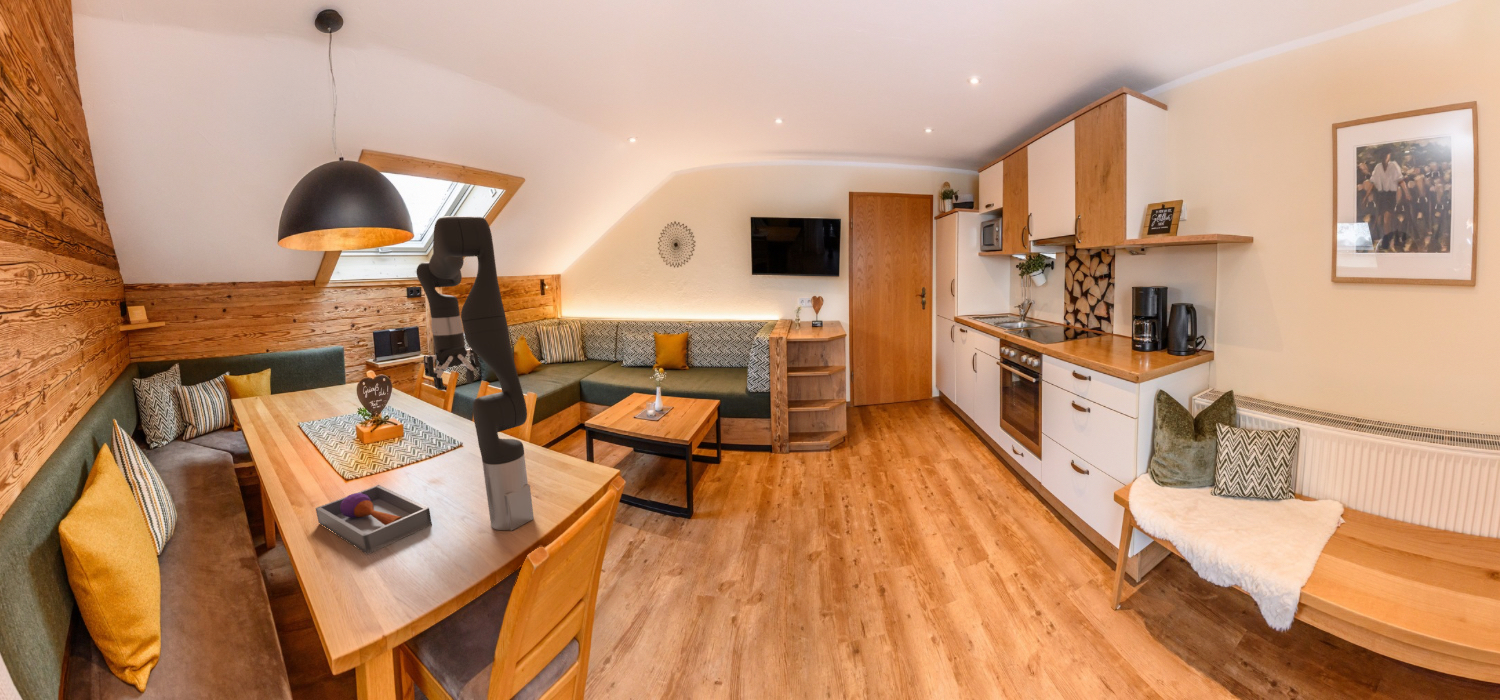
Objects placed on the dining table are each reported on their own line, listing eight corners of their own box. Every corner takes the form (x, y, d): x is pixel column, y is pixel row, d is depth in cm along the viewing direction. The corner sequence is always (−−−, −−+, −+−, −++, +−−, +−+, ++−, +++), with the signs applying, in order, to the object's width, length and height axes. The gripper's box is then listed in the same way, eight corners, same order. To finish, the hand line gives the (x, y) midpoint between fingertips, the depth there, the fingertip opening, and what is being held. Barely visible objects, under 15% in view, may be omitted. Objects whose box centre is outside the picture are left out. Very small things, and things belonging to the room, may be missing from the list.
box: (431, 524, 118) (429, 508, 117) (367, 554, 106) (363, 536, 105) (381, 499, 130) (378, 484, 129) (319, 524, 119) (315, 508, 118)
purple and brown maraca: (381, 522, 110) (331, 500, 117) (389, 542, 112) (339, 518, 120) (406, 506, 115) (357, 485, 122) (414, 525, 117) (365, 503, 125)
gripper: (428, 336, 128) (437, 394, 132) (479, 329, 140) (486, 381, 144) (414, 334, 132) (423, 390, 135) (465, 327, 144) (472, 379, 147)
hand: (455, 386), depth 139 cm, fingers open, 8 cm apart
